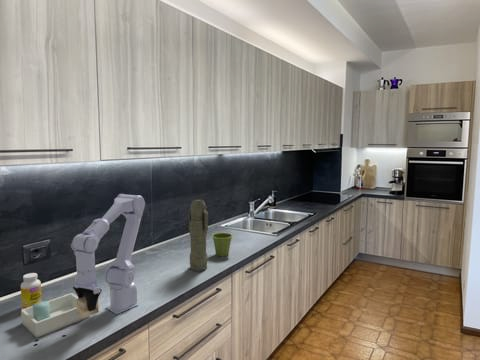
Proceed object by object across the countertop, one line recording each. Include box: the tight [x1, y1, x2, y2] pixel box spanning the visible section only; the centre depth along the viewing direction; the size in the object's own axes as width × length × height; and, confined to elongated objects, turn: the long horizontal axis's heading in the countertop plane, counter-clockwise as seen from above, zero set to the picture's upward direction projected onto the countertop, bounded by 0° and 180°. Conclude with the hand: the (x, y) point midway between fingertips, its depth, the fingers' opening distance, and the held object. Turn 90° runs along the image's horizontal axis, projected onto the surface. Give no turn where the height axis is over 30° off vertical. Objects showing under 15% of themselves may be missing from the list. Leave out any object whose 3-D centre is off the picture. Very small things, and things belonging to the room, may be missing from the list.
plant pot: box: [211, 232, 233, 257], centre depth 193 cm, size 12×12×11 cm
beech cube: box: [76, 296, 100, 319], centre depth 116 cm, size 5×5×5 cm
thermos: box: [188, 198, 209, 272], centre depth 171 cm, size 9×12×35 cm
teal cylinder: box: [33, 300, 50, 322], centre depth 118 cm, size 5×5×7 cm
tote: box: [20, 292, 90, 339], centre depth 122 cm, size 18×14×5 cm
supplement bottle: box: [20, 272, 43, 310], centre depth 131 cm, size 7×7×13 cm
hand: (88, 307), depth 116 cm, fingers closed on beech cube, 5 cm apart
